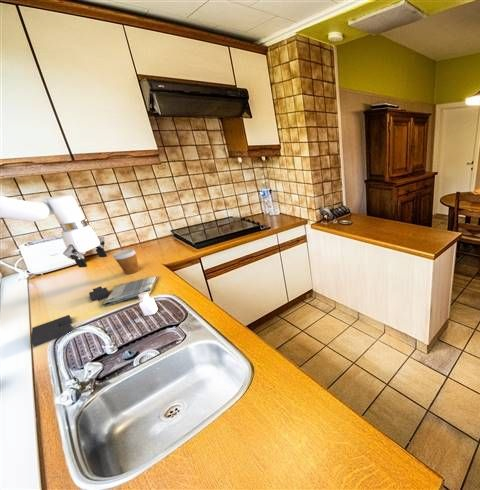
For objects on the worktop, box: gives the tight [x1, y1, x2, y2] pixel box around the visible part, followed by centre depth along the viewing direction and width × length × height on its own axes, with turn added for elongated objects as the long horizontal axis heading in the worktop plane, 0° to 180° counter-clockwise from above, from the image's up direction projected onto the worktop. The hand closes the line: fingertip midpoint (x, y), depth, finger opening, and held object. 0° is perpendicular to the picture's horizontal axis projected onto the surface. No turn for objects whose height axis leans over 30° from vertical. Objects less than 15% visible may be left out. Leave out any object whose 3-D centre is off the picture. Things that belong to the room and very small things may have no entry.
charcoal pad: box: [30, 314, 74, 348], centre depth 102 cm, size 12×10×3 cm
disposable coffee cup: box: [112, 248, 140, 275], centre depth 146 cm, size 10×10×12 cm
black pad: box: [88, 286, 110, 302], centre depth 126 cm, size 6×9×3 cm, turn 48°
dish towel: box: [101, 275, 158, 307], centre depth 128 cm, size 19×18×3 cm
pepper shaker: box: [138, 292, 159, 317], centre depth 110 cm, size 4×4×10 cm
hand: (93, 261), depth 117 cm, fingers open, 9 cm apart
